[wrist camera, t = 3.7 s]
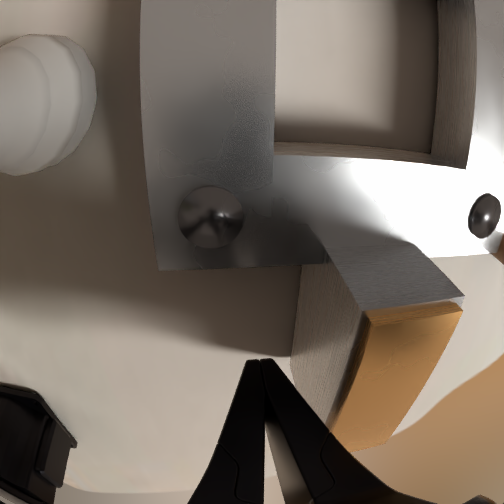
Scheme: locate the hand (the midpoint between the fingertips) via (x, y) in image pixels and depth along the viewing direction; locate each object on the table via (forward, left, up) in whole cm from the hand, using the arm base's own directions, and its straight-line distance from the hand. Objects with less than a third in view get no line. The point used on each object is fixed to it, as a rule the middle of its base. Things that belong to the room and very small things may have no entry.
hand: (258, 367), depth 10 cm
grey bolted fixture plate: (+3, +6, -3) cm, 7 cm away
